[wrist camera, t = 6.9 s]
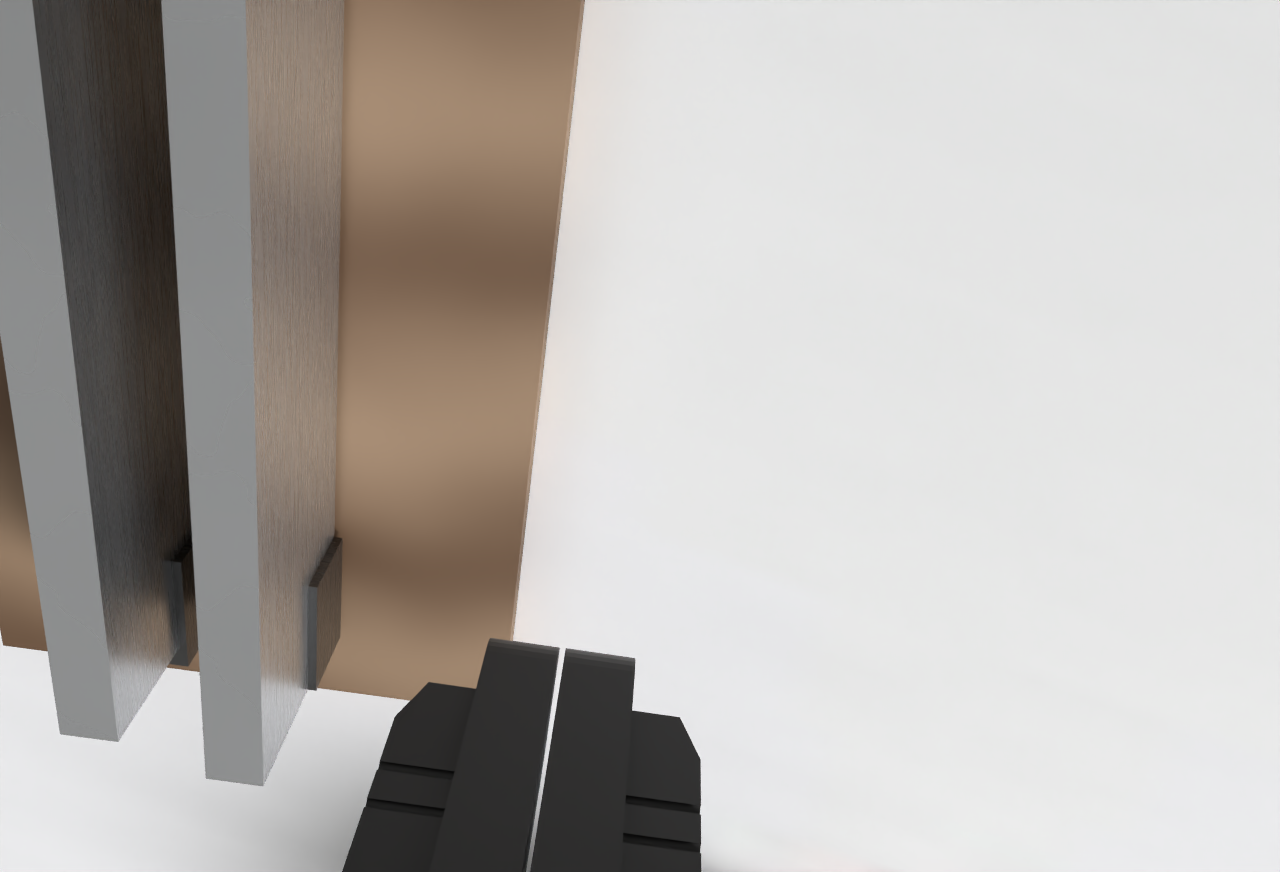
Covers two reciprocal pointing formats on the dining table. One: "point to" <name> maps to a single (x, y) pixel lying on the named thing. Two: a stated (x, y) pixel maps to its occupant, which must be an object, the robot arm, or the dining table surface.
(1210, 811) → the dining table surface
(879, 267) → the dining table surface
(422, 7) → the walnut board
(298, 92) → the tongs swing arm
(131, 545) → the arm
